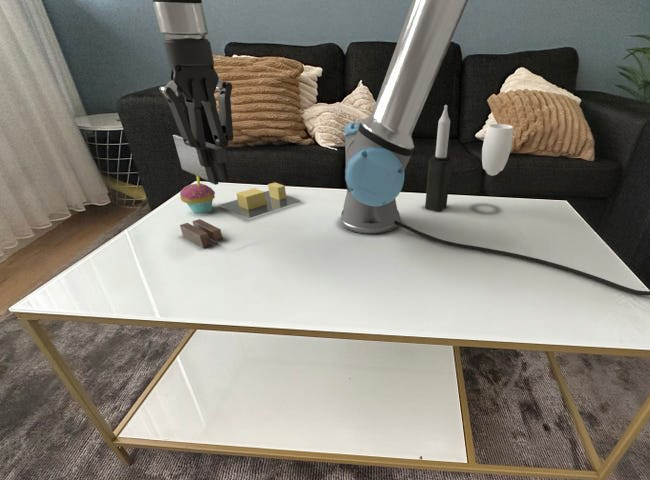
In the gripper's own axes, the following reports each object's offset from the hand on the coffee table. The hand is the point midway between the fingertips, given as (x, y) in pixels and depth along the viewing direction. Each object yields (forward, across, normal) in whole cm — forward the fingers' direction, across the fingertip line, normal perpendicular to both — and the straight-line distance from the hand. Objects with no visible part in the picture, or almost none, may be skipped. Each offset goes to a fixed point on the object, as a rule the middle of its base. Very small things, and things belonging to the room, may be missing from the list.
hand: (218, 181), depth 84 cm
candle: (+14, -54, +19) cm, 59 cm away
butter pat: (+14, -26, -18) cm, 35 cm away
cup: (+14, -63, +30) cm, 71 cm away
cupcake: (+15, -6, -25) cm, 30 cm away
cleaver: (+1, 0, -5) cm, 5 cm away
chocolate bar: (+14, +3, -9) cm, 17 cm away
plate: (+14, -20, -18) cm, 31 cm away
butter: (+14, -18, -18) cm, 29 cm away
